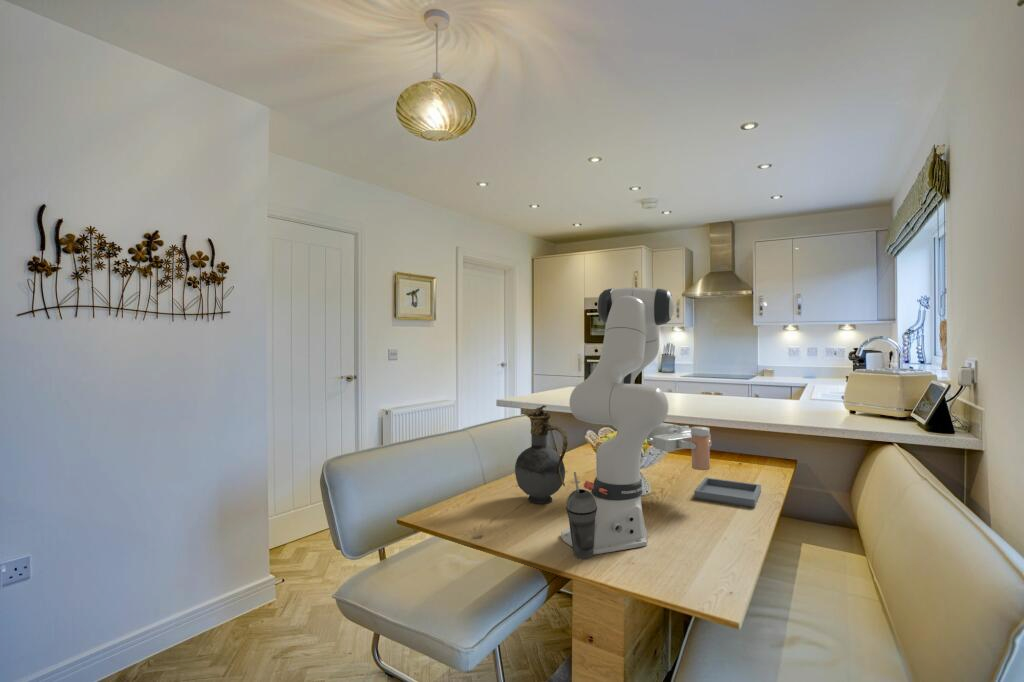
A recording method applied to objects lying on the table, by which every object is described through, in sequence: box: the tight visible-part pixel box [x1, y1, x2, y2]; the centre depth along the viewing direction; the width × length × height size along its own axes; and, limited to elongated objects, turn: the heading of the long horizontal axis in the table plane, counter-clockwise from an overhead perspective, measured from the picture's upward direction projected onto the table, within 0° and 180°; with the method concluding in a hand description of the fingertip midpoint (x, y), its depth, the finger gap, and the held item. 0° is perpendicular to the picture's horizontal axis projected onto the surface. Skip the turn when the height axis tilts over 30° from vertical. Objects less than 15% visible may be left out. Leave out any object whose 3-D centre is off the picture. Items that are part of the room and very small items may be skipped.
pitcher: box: [514, 405, 569, 505], centre depth 152 cm, size 11×19×30 cm, turn 43°
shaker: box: [690, 426, 711, 471], centre depth 146 cm, size 5×5×12 cm
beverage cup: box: [565, 471, 597, 560], centre depth 113 cm, size 7×7×20 cm
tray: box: [693, 477, 762, 509], centre depth 156 cm, size 17×17×2 cm
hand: (702, 445), depth 146 cm, fingers closed on shaker, 5 cm apart
